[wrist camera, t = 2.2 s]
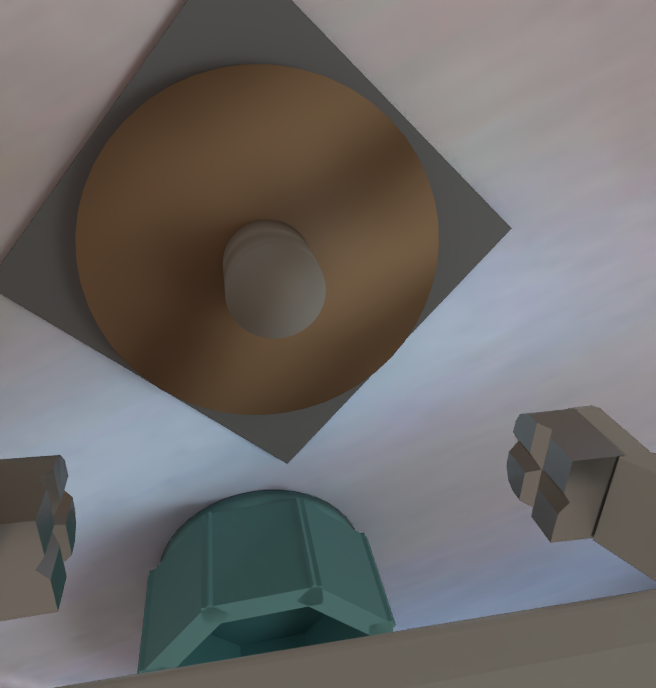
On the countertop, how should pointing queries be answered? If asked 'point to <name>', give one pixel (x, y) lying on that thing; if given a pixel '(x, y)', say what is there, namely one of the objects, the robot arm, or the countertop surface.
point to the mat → (180, 63)
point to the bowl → (260, 582)
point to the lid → (257, 239)
